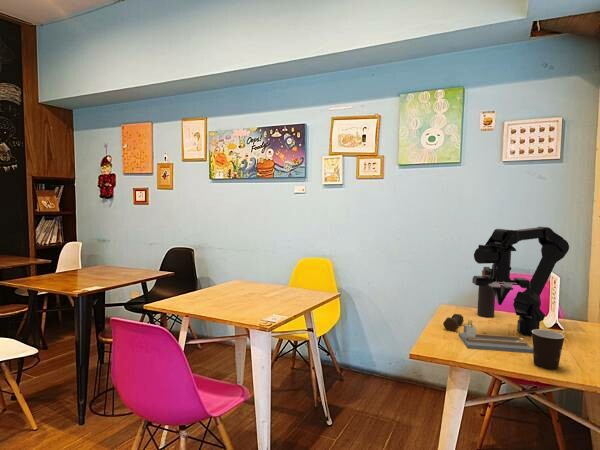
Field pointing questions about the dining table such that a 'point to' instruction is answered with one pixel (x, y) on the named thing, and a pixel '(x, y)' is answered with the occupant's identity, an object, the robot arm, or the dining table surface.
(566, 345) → the dining table surface
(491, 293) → the bottle
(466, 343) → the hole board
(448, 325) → the bolt
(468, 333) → the sliding pin block
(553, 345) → the coffee mug
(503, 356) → the dining table surface
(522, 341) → the fixed brass pin
